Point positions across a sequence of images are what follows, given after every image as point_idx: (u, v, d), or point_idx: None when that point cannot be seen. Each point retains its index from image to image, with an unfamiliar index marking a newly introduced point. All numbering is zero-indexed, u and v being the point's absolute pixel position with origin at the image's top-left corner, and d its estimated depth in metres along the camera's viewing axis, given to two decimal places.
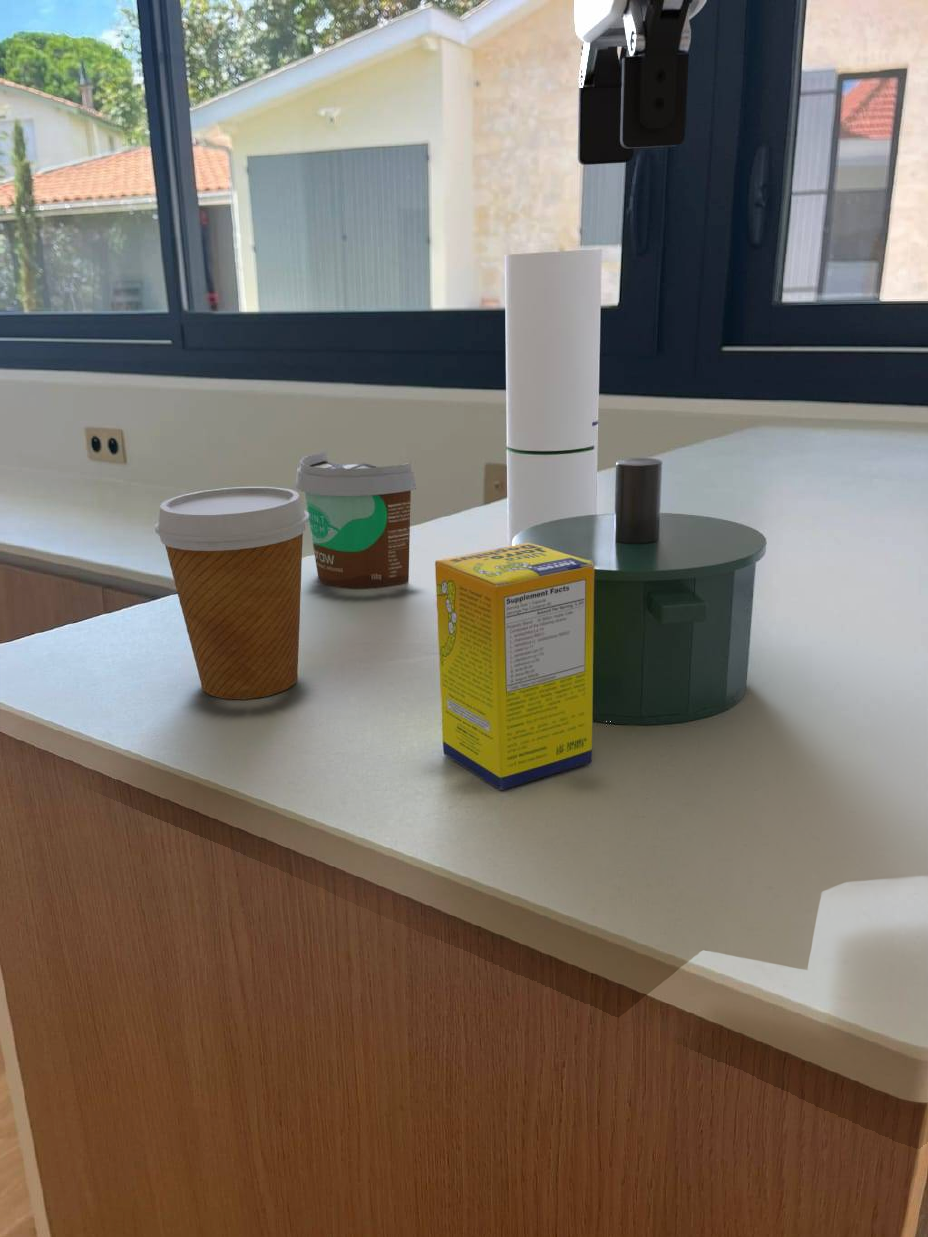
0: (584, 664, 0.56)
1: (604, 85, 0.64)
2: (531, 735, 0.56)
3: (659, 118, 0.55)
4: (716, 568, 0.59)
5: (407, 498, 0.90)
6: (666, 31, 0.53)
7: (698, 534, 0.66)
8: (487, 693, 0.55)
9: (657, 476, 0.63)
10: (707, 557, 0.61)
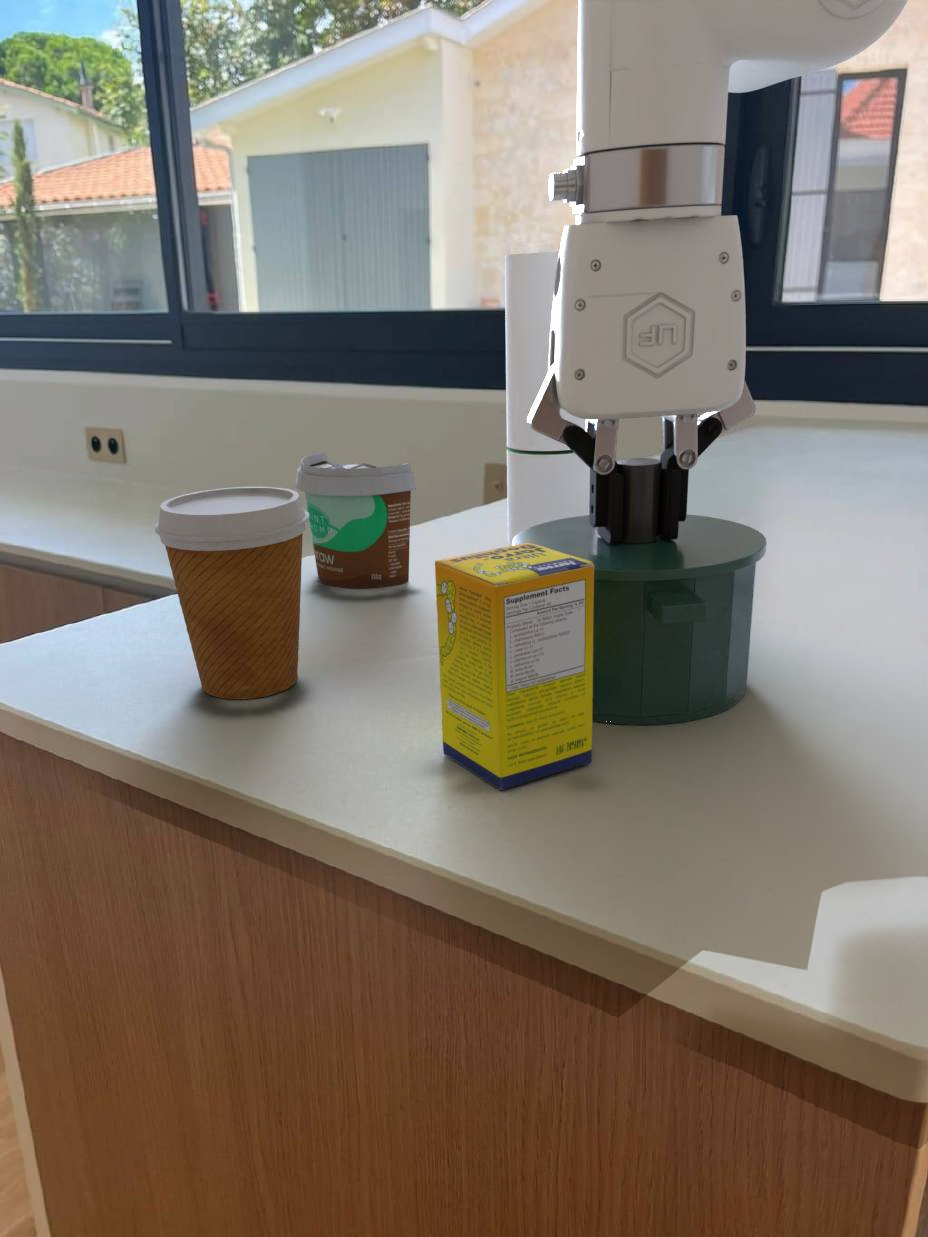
0: (584, 664, 0.56)
1: (663, 466, 0.64)
2: (531, 735, 0.56)
3: (592, 520, 0.65)
4: (716, 568, 0.59)
5: (407, 498, 0.90)
6: (580, 458, 0.63)
7: (698, 534, 0.66)
8: (487, 693, 0.55)
9: (656, 476, 0.63)
10: (707, 557, 0.61)
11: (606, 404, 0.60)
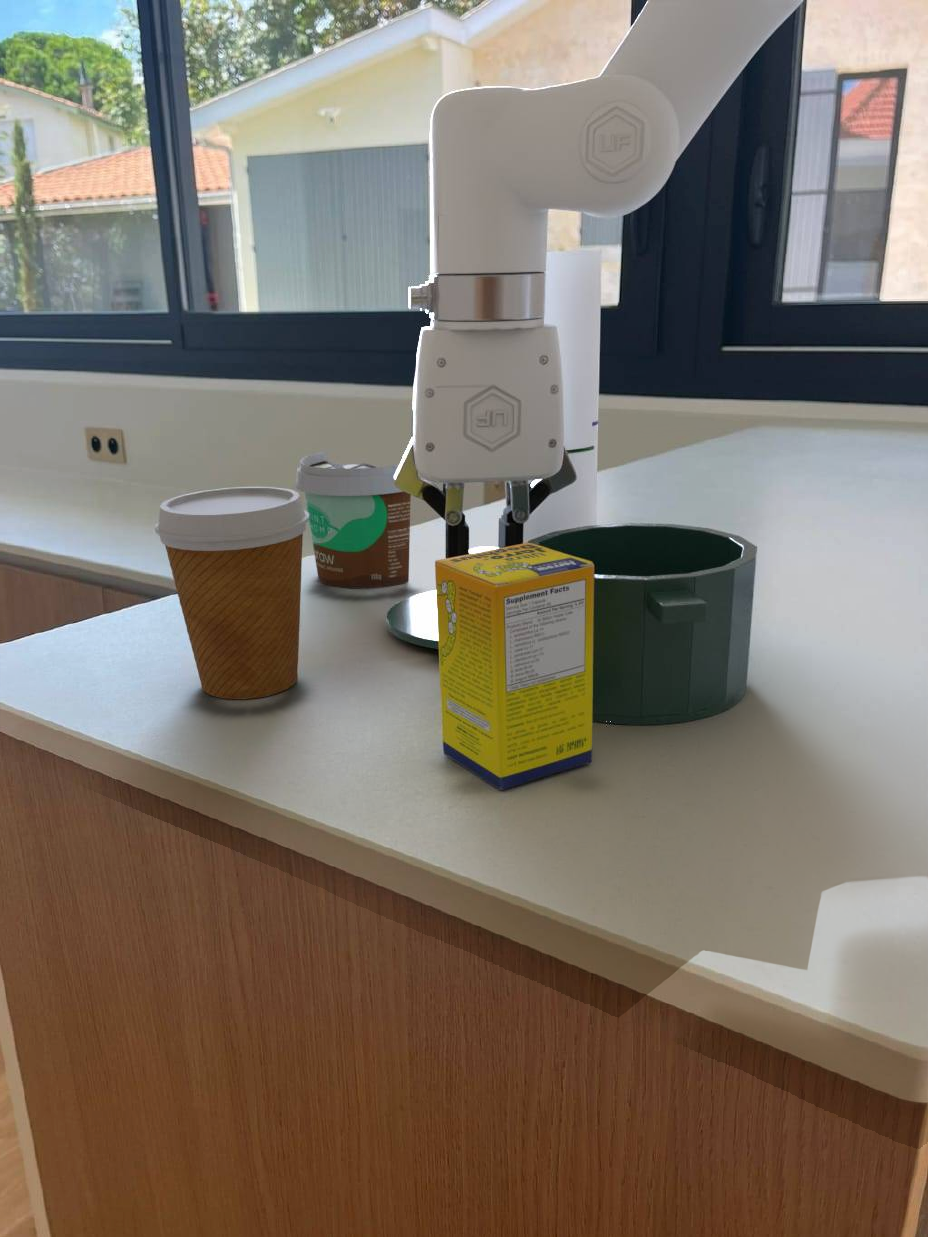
0: (584, 664, 0.56)
1: (504, 519, 0.79)
2: (531, 735, 0.56)
3: None
4: None
5: (407, 498, 0.90)
6: None
7: None
8: (487, 693, 0.55)
9: None
10: None
11: (451, 471, 0.74)
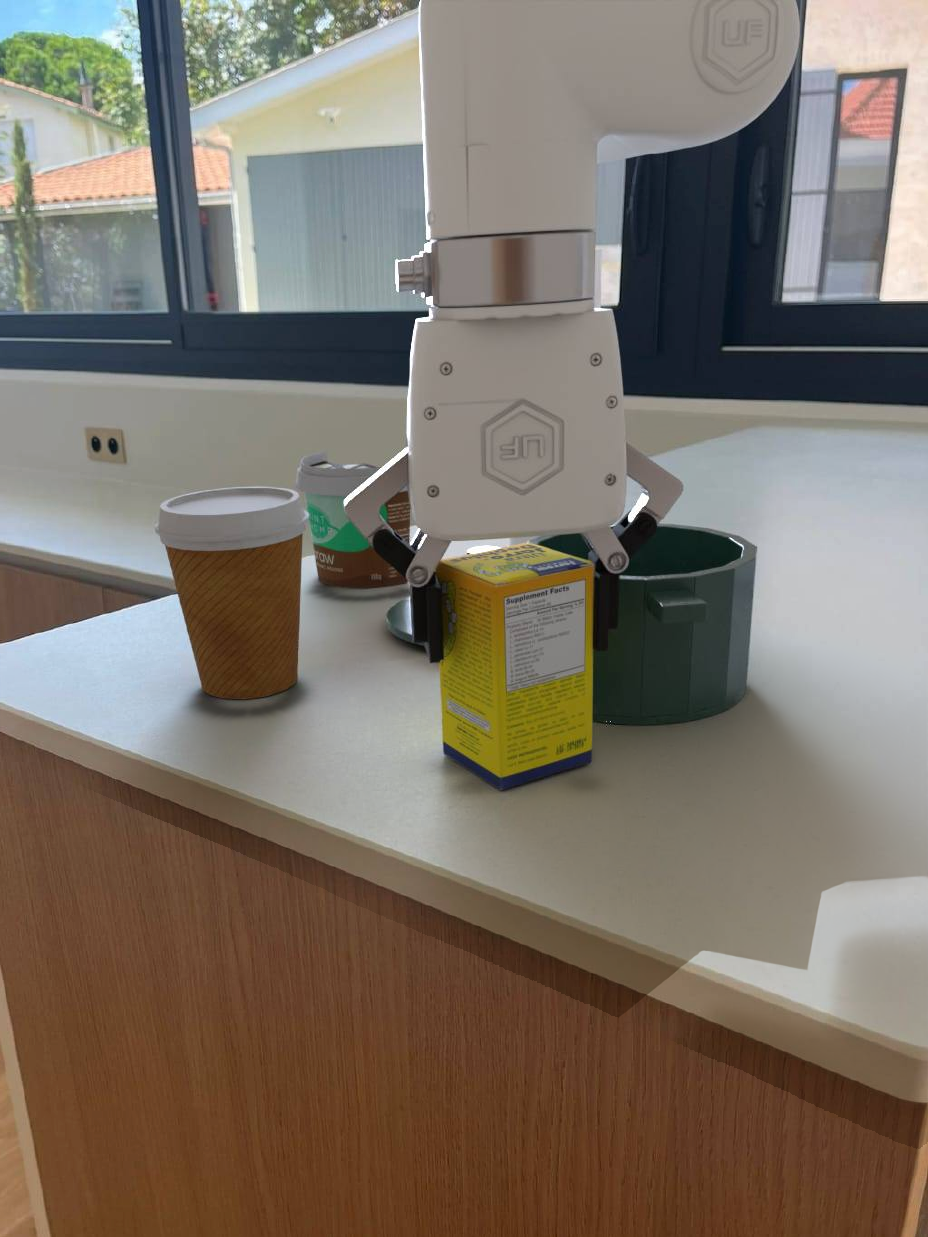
0: (584, 664, 0.56)
1: None
2: (531, 735, 0.56)
3: (412, 634, 0.56)
4: None
5: (407, 498, 0.90)
6: None
7: None
8: (487, 693, 0.55)
9: None
10: None
11: (465, 524, 0.52)
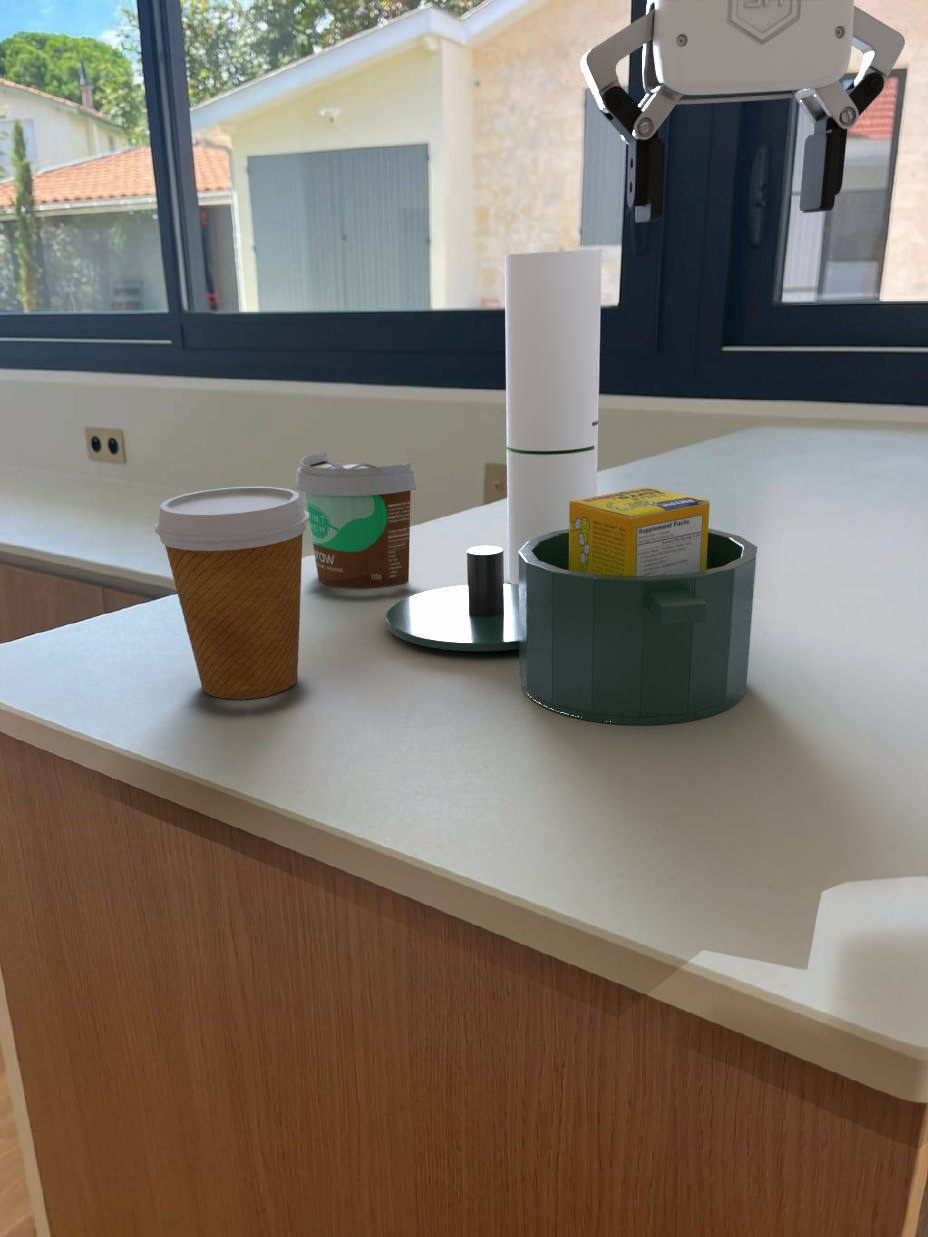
0: None
1: (818, 132, 0.62)
2: None
3: (631, 199, 0.62)
4: None
5: (407, 498, 0.90)
6: (619, 127, 0.61)
7: None
8: None
9: (498, 563, 0.78)
10: None
11: (708, 74, 0.57)
